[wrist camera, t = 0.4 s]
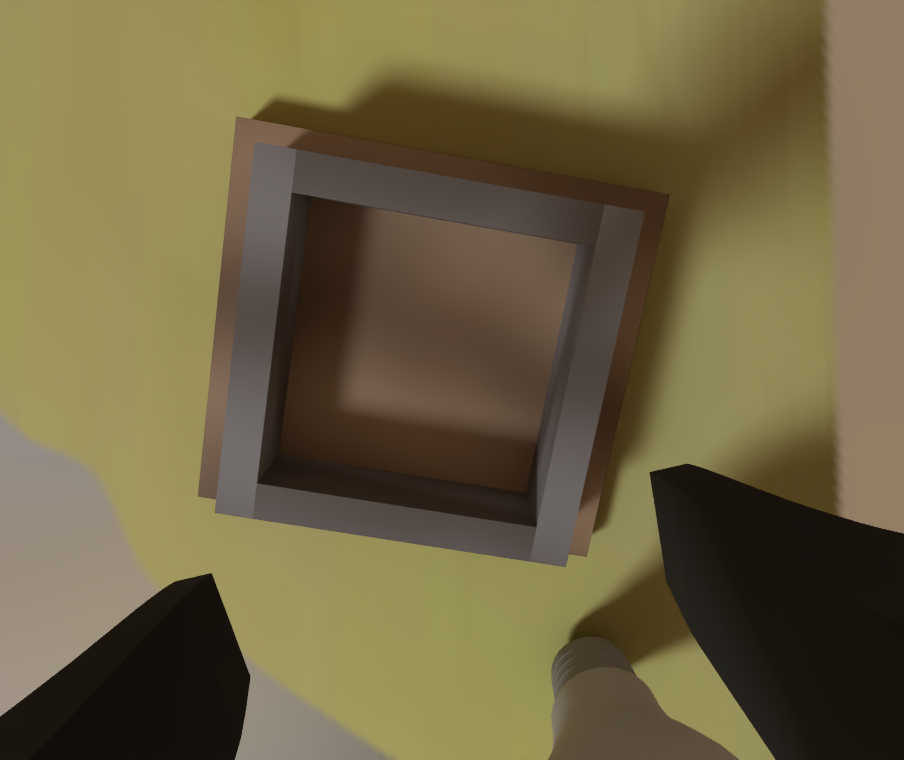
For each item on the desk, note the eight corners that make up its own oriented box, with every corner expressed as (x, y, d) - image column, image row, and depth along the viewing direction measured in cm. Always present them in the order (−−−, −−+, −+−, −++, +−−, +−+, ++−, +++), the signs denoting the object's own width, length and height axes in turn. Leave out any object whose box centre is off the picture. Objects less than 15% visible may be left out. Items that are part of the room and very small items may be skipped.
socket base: (580, 542, 22) (604, 598, 19) (209, 484, 22) (165, 531, 18) (658, 196, 20) (702, 189, 17) (246, 122, 20) (204, 98, 16)
